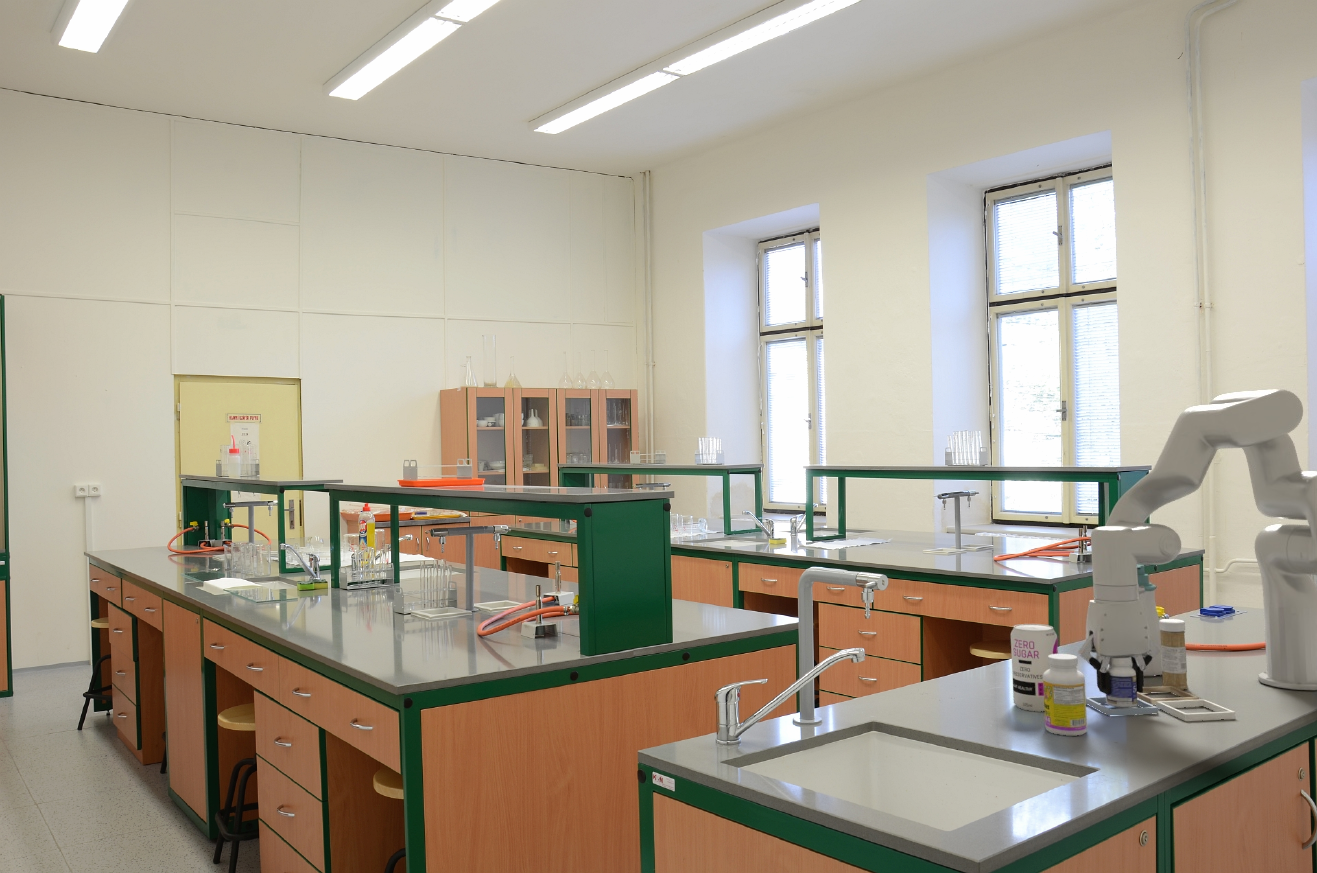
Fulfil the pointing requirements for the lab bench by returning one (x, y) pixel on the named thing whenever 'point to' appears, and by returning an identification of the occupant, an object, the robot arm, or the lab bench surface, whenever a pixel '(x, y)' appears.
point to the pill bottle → (1122, 683)
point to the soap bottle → (1150, 620)
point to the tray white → (1217, 715)
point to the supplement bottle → (1064, 696)
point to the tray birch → (1171, 689)
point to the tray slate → (1125, 711)
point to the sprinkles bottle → (1173, 653)
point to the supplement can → (1031, 663)
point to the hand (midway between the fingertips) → (1120, 691)
